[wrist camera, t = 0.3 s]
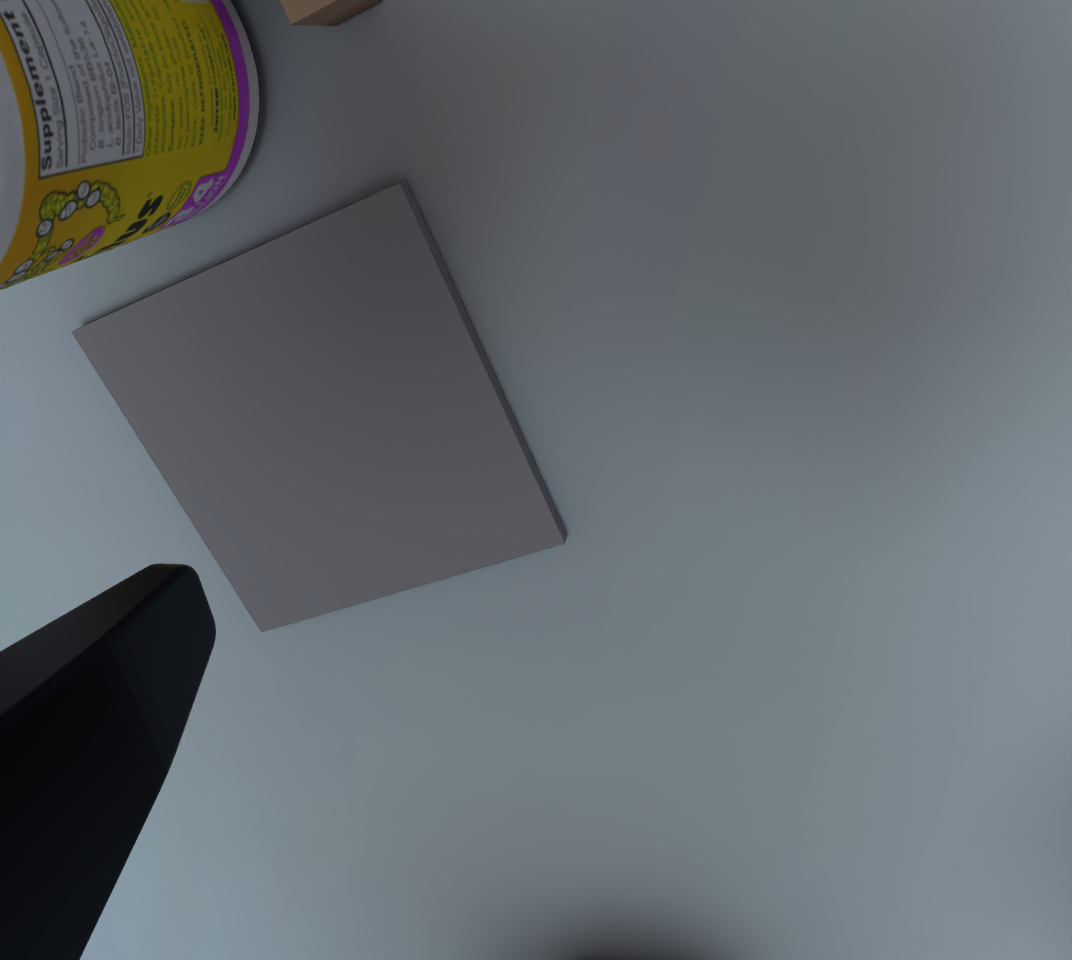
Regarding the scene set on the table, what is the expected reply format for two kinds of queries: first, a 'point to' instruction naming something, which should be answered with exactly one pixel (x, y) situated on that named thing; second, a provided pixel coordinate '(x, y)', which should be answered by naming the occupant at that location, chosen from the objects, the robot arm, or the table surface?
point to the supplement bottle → (116, 122)
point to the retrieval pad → (328, 415)
